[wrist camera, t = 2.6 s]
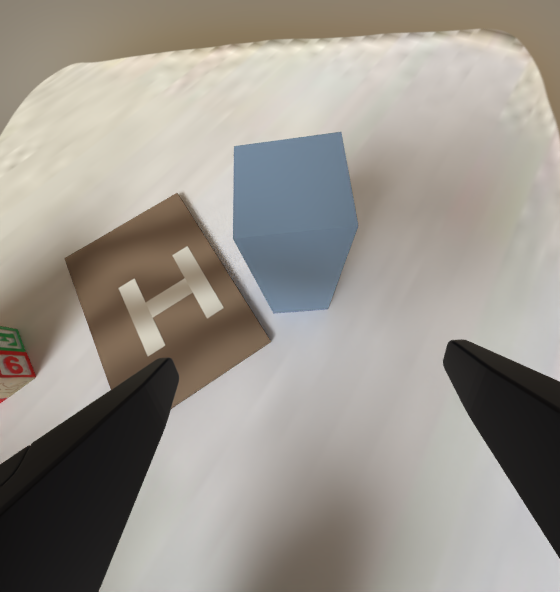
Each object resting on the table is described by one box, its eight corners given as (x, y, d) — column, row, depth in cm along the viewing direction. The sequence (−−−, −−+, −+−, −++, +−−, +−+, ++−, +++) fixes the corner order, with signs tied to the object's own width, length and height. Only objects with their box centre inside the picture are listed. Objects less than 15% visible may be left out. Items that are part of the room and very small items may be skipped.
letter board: (271, 341, 21) (270, 340, 20) (132, 434, 20) (127, 436, 19) (179, 196, 27) (176, 192, 27) (69, 260, 26) (64, 258, 25)
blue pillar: (327, 309, 22) (358, 225, 9) (273, 313, 22) (233, 238, 10) (321, 259, 23) (341, 131, 11) (271, 264, 23) (234, 146, 11)
